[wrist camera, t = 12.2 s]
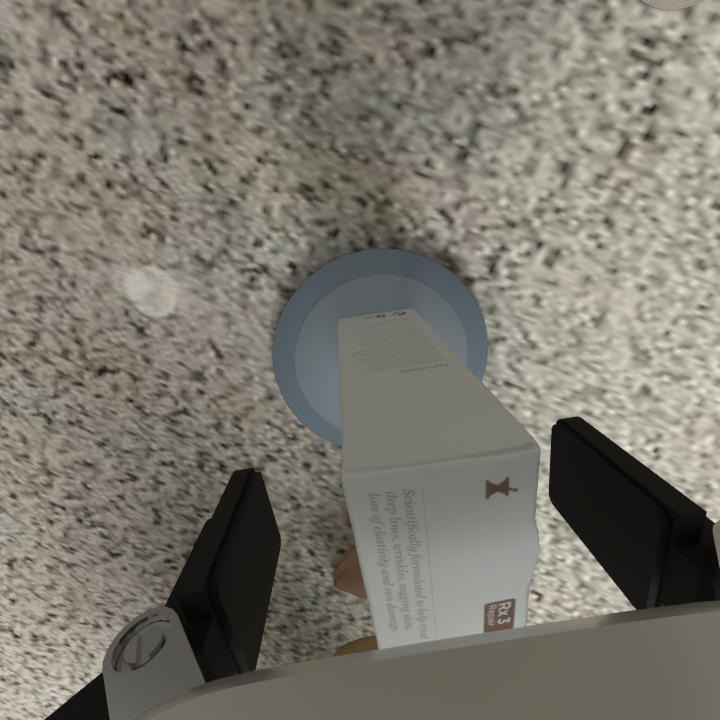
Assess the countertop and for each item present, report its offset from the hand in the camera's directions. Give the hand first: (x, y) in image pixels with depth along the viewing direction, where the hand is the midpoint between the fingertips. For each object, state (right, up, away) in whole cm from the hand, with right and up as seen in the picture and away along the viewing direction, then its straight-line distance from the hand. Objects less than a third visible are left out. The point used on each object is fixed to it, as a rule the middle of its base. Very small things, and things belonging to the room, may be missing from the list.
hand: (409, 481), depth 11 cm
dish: (0, +4, +9) cm, 10 cm away
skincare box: (0, +4, +8) cm, 9 cm away
